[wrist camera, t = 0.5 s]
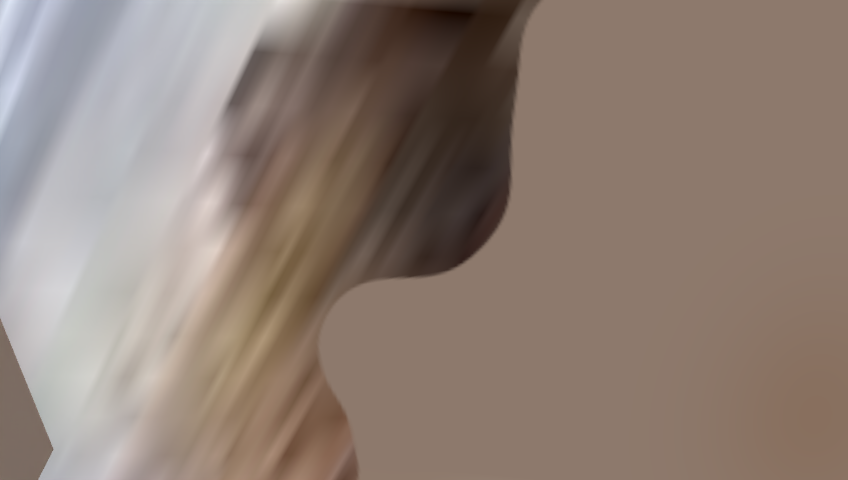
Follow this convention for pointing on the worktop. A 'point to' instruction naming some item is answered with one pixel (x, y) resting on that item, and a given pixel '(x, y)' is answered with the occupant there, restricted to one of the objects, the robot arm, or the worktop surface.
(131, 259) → the worktop surface
